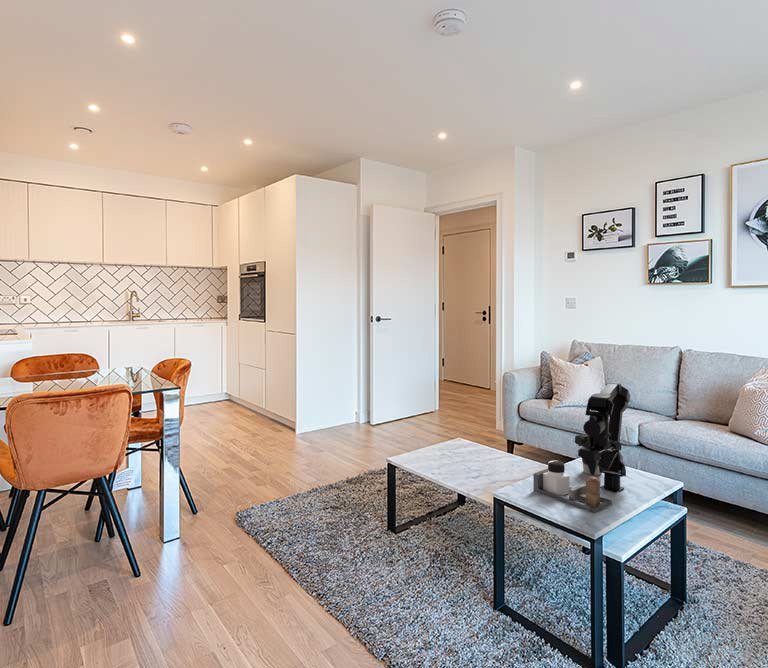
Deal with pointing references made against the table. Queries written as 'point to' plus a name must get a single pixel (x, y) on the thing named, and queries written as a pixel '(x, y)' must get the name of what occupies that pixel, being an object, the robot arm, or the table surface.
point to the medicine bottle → (556, 479)
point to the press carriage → (587, 492)
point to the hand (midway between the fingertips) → (599, 472)
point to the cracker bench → (539, 489)
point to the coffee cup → (585, 466)
